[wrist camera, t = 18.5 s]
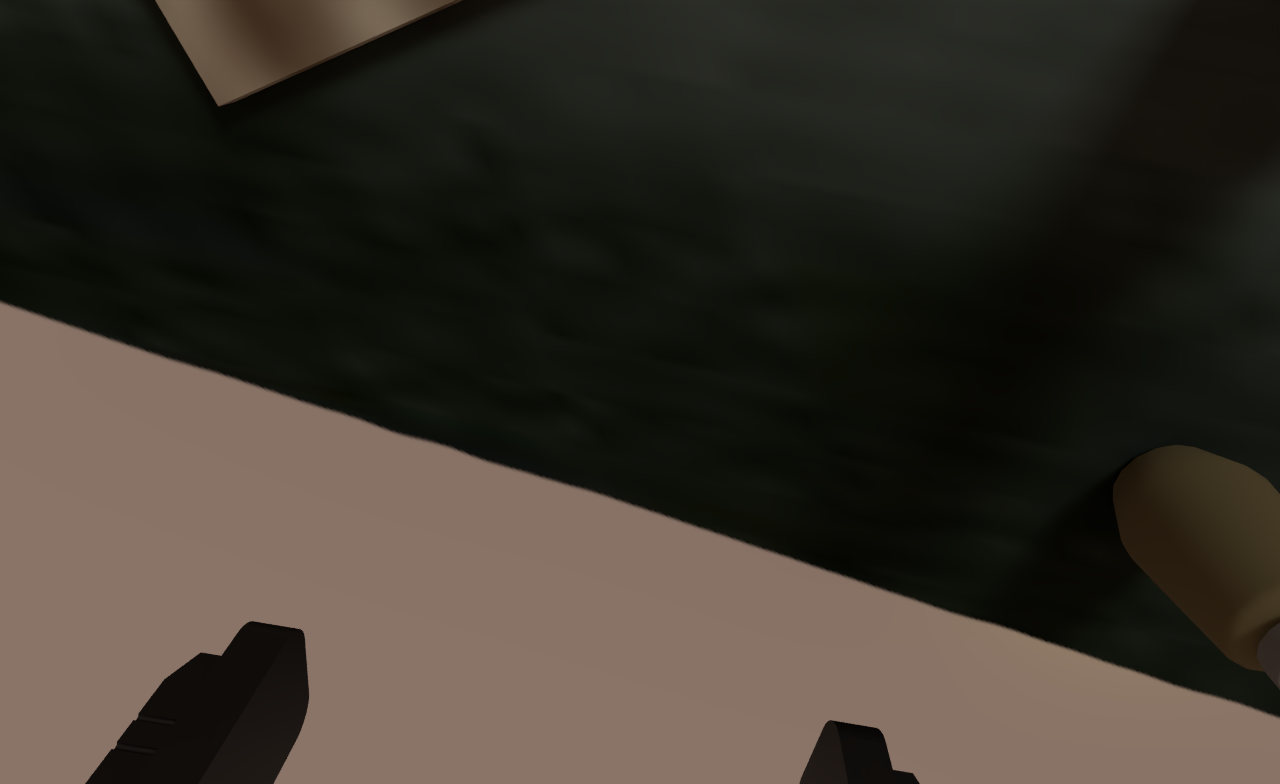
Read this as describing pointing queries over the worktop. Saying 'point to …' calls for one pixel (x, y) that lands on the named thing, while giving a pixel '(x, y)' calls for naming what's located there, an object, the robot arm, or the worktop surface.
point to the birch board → (279, 36)
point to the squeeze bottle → (1208, 546)
